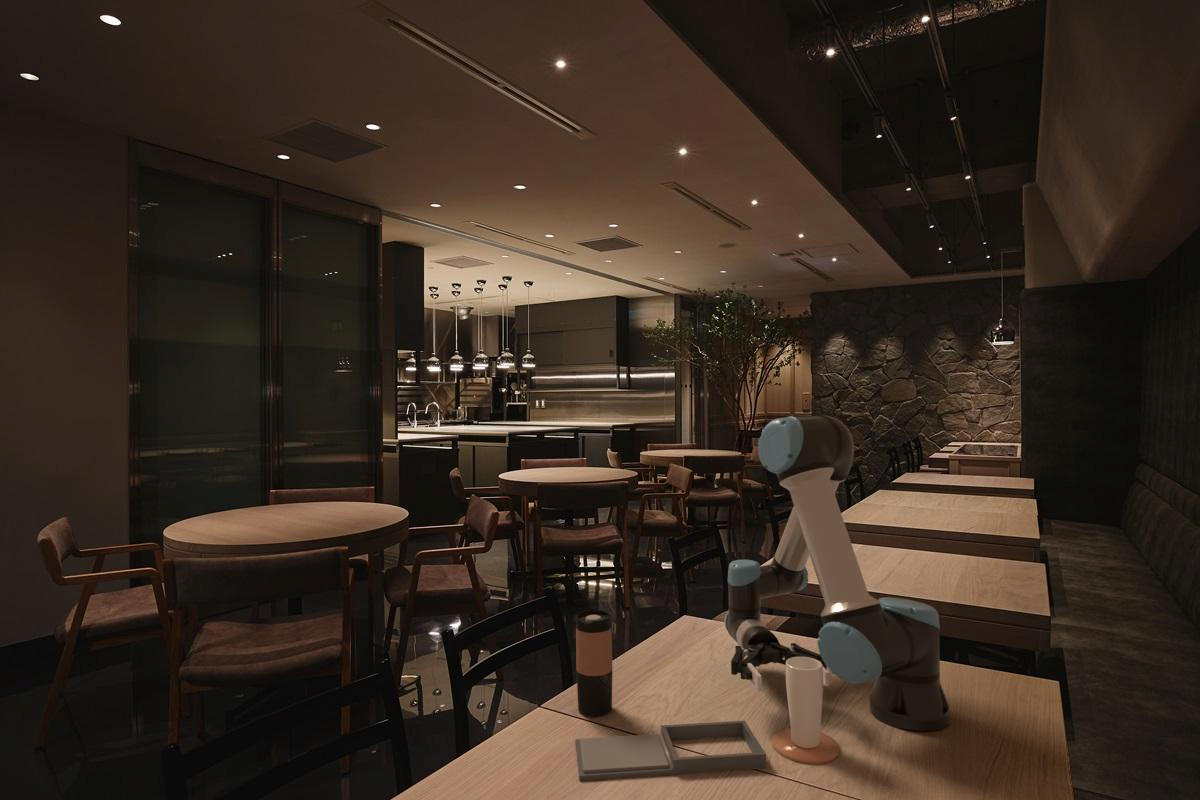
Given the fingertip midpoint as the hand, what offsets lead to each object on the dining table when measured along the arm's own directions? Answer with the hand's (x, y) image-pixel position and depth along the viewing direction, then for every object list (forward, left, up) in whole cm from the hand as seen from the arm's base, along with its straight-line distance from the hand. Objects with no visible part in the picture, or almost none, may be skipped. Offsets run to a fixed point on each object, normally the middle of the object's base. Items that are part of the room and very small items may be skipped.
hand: (793, 681), depth 132 cm
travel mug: (+38, -15, -11) cm, 42 cm away
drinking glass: (0, +4, -10) cm, 11 cm away
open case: (+26, +5, -10) cm, 28 cm away
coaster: (0, +5, -10) cm, 11 cm away
